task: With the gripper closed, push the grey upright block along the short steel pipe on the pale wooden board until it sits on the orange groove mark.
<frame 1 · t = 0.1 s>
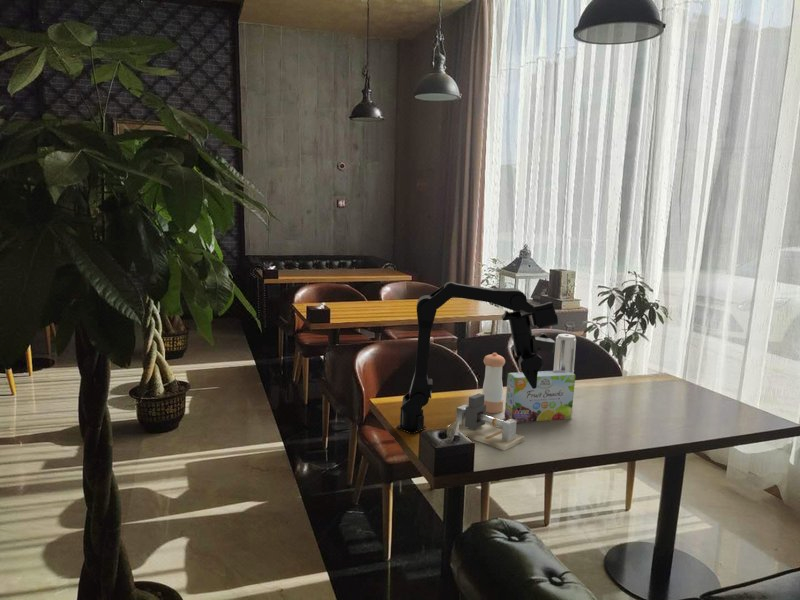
hand: (531, 383, 163), 15 cm above the table, tool pointing down, fingers open, 9 cm apart
pepper shaker: (491, 409, 186), on the table
snack box: (538, 419, 179), on the table
pipe rig: (485, 422, 163), on the board, point 4 cm above the table
grey upright block: (475, 410, 165), point 6 cm above the table, slide at -3.5 cm
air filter: (560, 408, 190), on the table
board: (484, 435, 164), on the table
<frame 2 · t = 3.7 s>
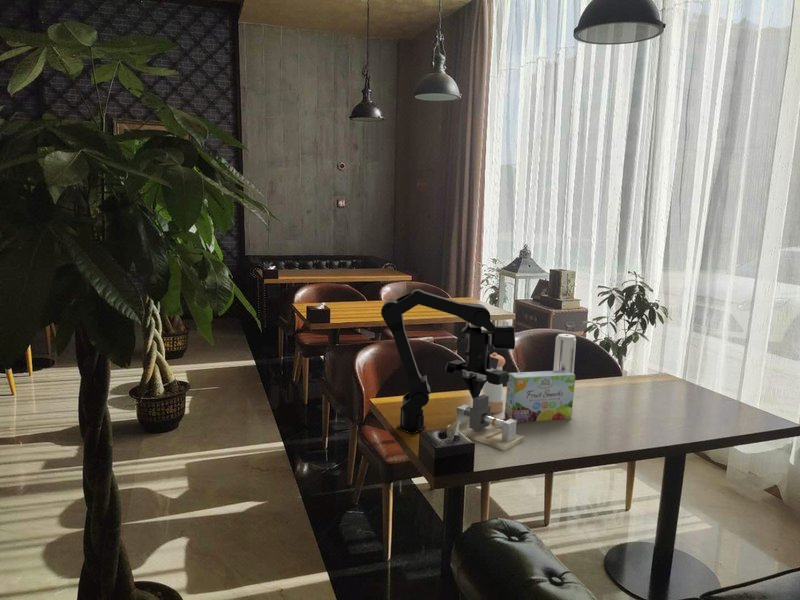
hand: (475, 400, 165), 10 cm above the table, tool pointing down, fingers closed
grey upright block: (480, 412, 164), point 6 cm above the table, slide at -2.0 cm, touching gripper
everything else where it was.
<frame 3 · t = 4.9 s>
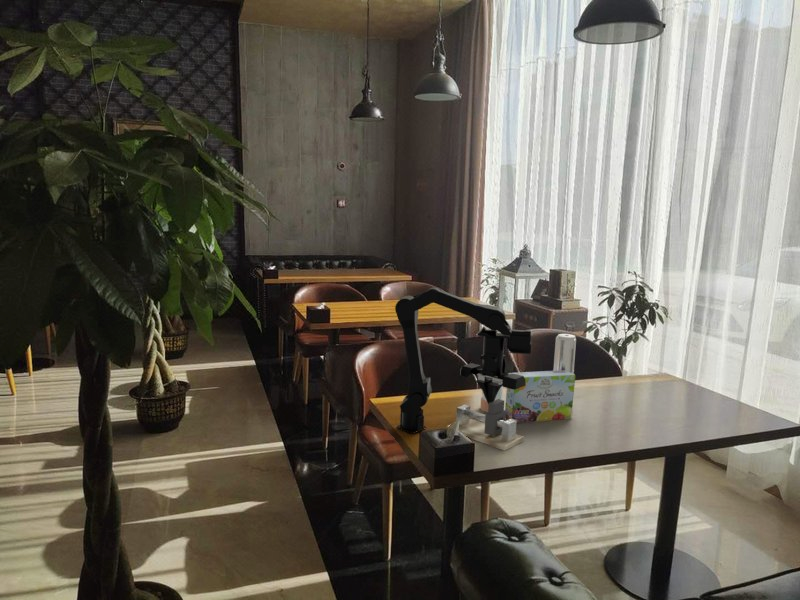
hand: (490, 404, 162), 10 cm above the table, tool pointing down, fingers closed
grey upright block: (495, 416, 161), point 6 cm above the table, slide at 3.3 cm, touching gripper
everything else where it was.
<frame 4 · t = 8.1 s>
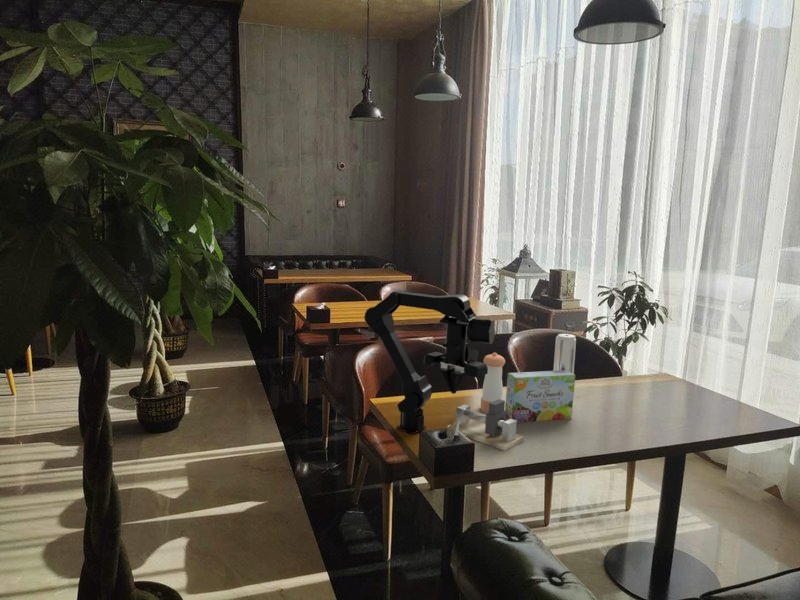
hand: (453, 393, 160), 13 cm above the table, tool pointing down, fingers closed
grey upright block: (496, 417, 161), point 6 cm above the table, slide at 3.5 cm
everything else where it was.
at the end: grey upright block slide at 3.5 cm; the gripper is holding nothing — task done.
